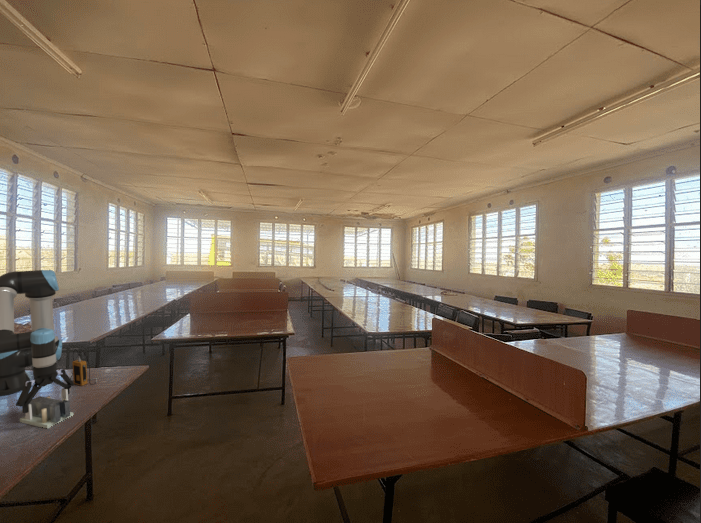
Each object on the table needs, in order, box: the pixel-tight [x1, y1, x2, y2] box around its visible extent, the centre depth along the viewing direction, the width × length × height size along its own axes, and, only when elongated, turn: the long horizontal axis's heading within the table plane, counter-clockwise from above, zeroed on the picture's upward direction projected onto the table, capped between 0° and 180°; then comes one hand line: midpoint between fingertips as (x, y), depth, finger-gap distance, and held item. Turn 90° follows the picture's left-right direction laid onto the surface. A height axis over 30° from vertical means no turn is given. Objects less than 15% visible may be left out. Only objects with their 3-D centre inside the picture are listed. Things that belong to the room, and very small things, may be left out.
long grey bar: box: [29, 396, 71, 423], centre depth 138 cm, size 17×6×7 cm, turn 76°
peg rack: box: [19, 396, 74, 430], centre depth 139 cm, size 17×10×8 cm, turn 76°
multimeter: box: [69, 349, 98, 387], centre depth 174 cm, size 15×10×20 cm
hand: (48, 410), depth 138 cm, fingers open, 13 cm apart
